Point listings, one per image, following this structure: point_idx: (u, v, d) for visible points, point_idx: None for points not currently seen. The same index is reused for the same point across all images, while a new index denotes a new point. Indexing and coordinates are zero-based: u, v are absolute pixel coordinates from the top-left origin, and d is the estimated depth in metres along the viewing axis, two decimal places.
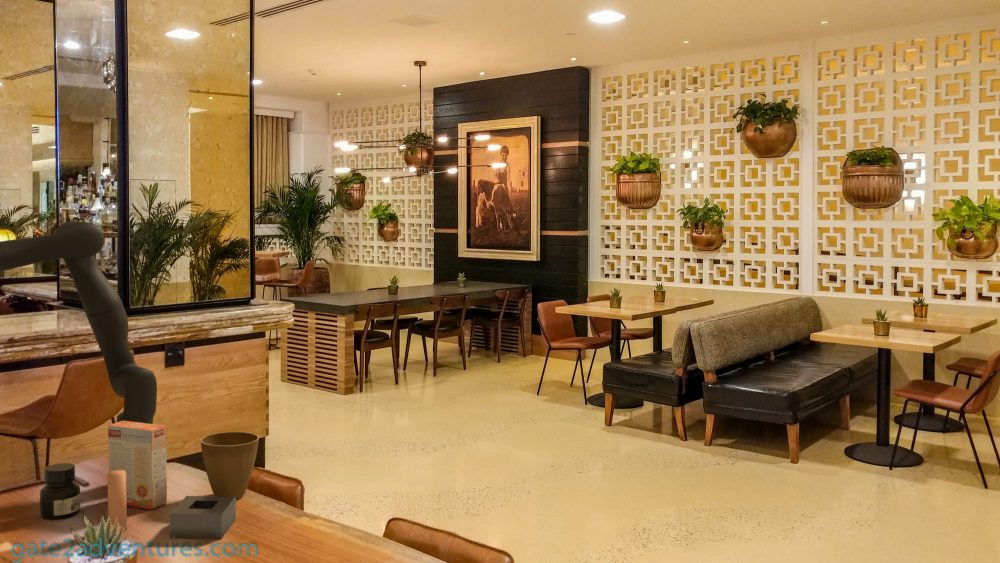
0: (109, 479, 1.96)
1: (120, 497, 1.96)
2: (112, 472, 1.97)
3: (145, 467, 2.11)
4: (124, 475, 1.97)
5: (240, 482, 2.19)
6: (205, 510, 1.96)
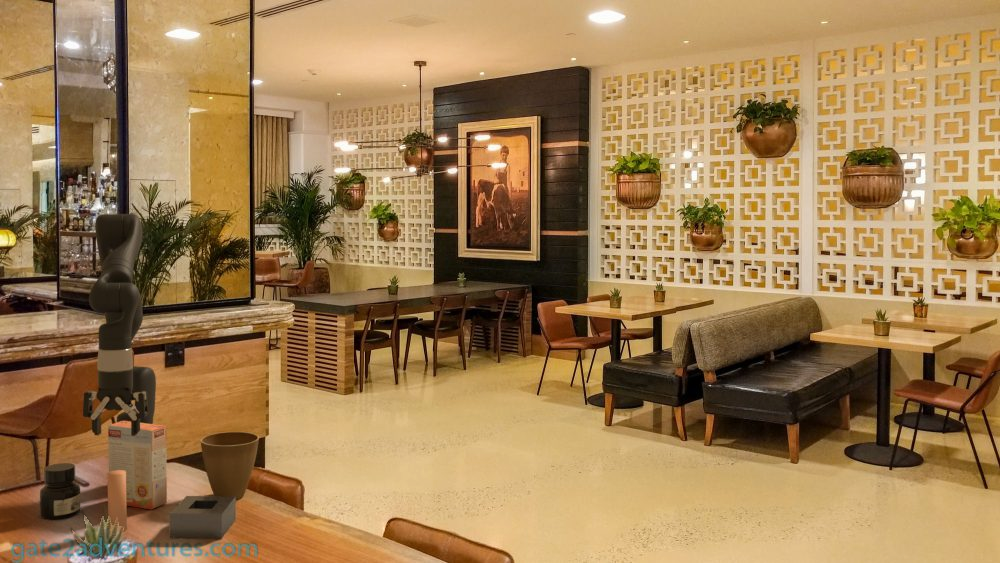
0: (109, 479, 1.96)
1: (120, 497, 1.96)
2: (112, 472, 1.97)
3: (145, 467, 2.11)
4: (124, 475, 1.97)
5: (240, 482, 2.19)
6: (205, 510, 1.96)
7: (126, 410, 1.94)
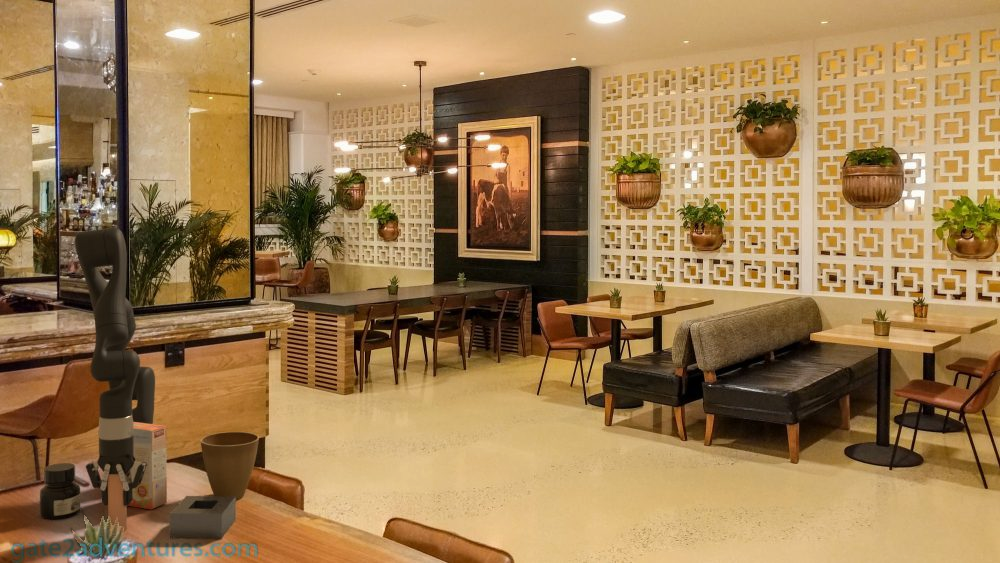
0: (109, 479, 1.96)
1: (120, 497, 1.96)
2: None
3: None
4: None
5: (240, 482, 2.19)
6: (205, 510, 1.96)
7: (122, 479, 1.96)
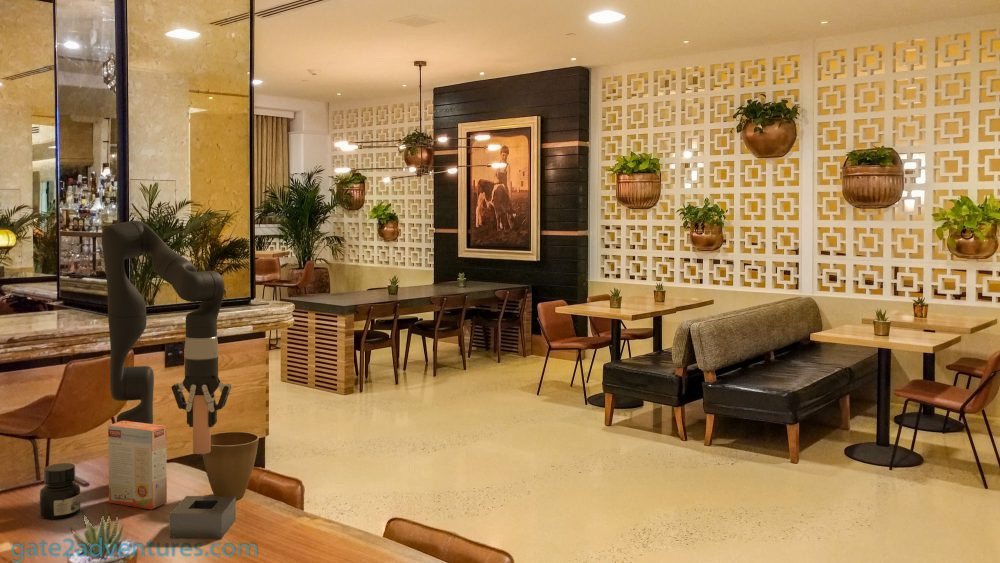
0: (195, 400, 1.96)
1: (205, 418, 1.96)
2: None
3: (145, 467, 2.11)
4: None
5: (240, 482, 2.19)
6: (205, 510, 1.96)
7: (207, 400, 1.96)
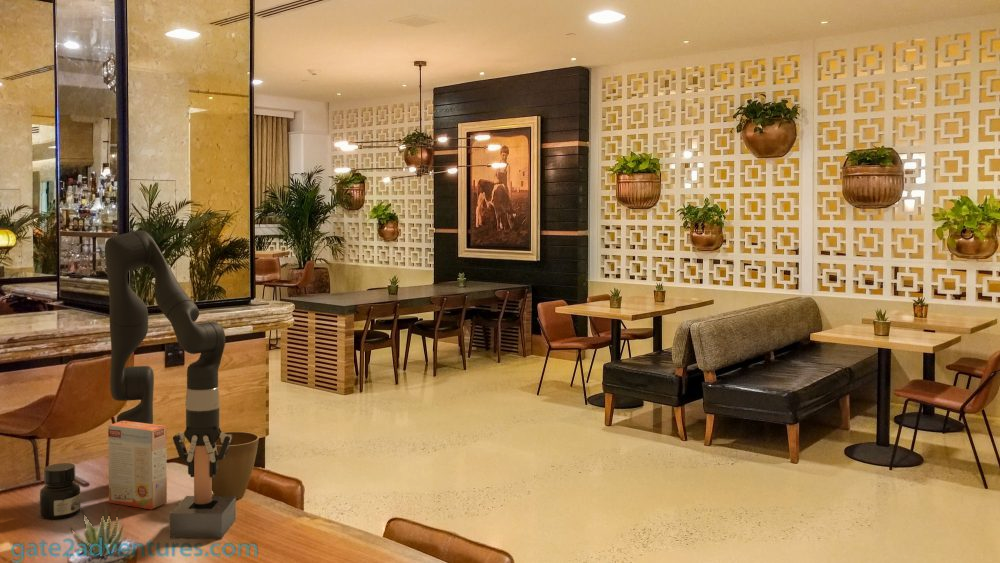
0: (196, 450, 1.97)
1: (207, 468, 1.98)
2: None
3: (145, 467, 2.11)
4: None
5: (240, 482, 2.19)
6: (205, 510, 1.96)
7: (209, 450, 1.97)
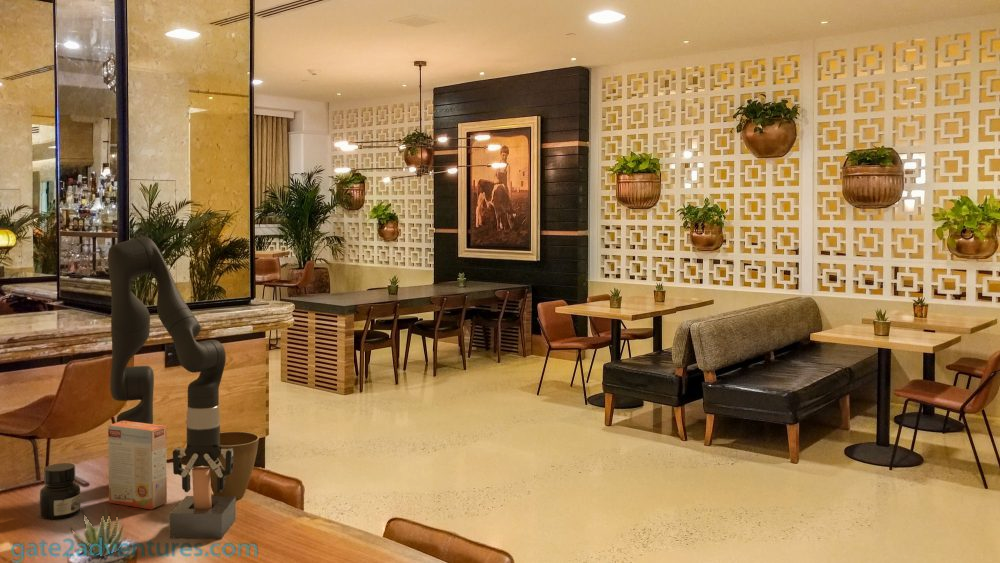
0: (194, 475, 1.97)
1: (206, 492, 1.98)
2: (196, 468, 1.99)
3: (145, 467, 2.11)
4: (208, 471, 1.98)
5: (240, 482, 2.19)
6: (205, 510, 1.96)
7: (213, 467, 1.98)
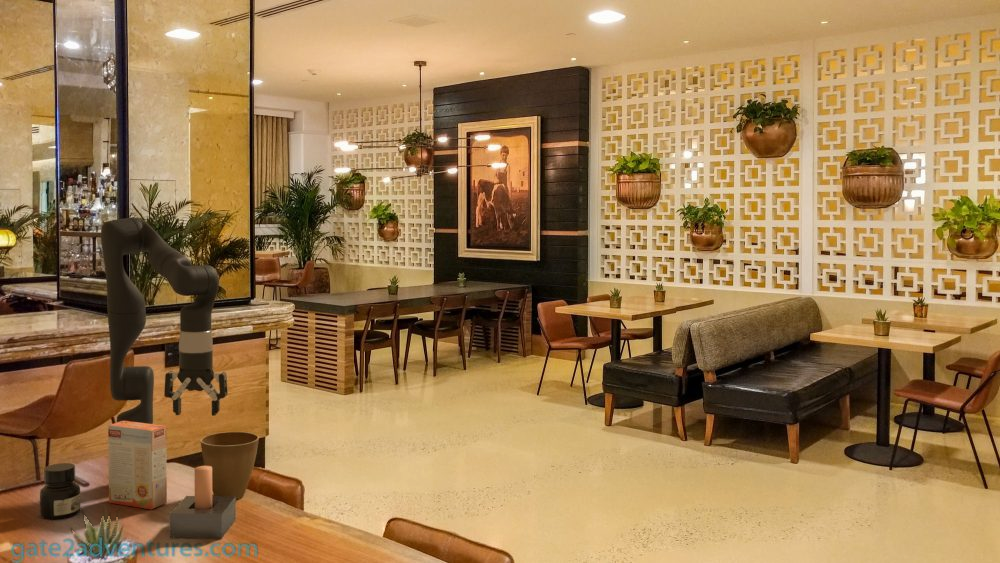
0: (196, 475, 1.97)
1: (207, 492, 1.98)
2: (199, 468, 1.99)
3: (145, 467, 2.11)
4: (211, 471, 1.99)
5: (240, 482, 2.19)
6: (205, 510, 1.96)
7: (207, 391, 1.98)
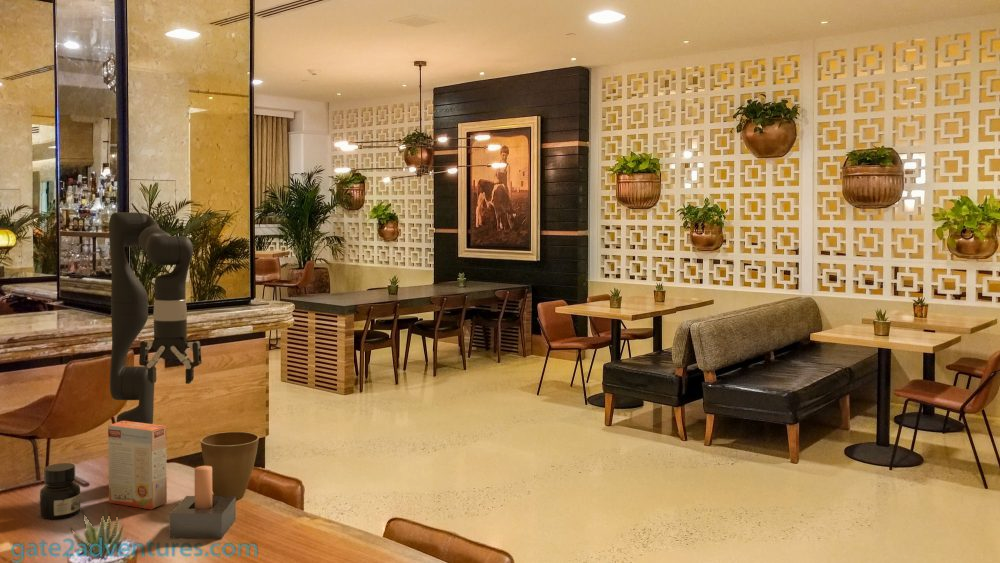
0: (196, 475, 1.97)
1: (207, 492, 1.98)
2: (199, 468, 1.99)
3: (145, 467, 2.11)
4: (211, 471, 1.99)
5: (240, 482, 2.19)
6: (205, 510, 1.96)
7: (181, 359, 2.02)
